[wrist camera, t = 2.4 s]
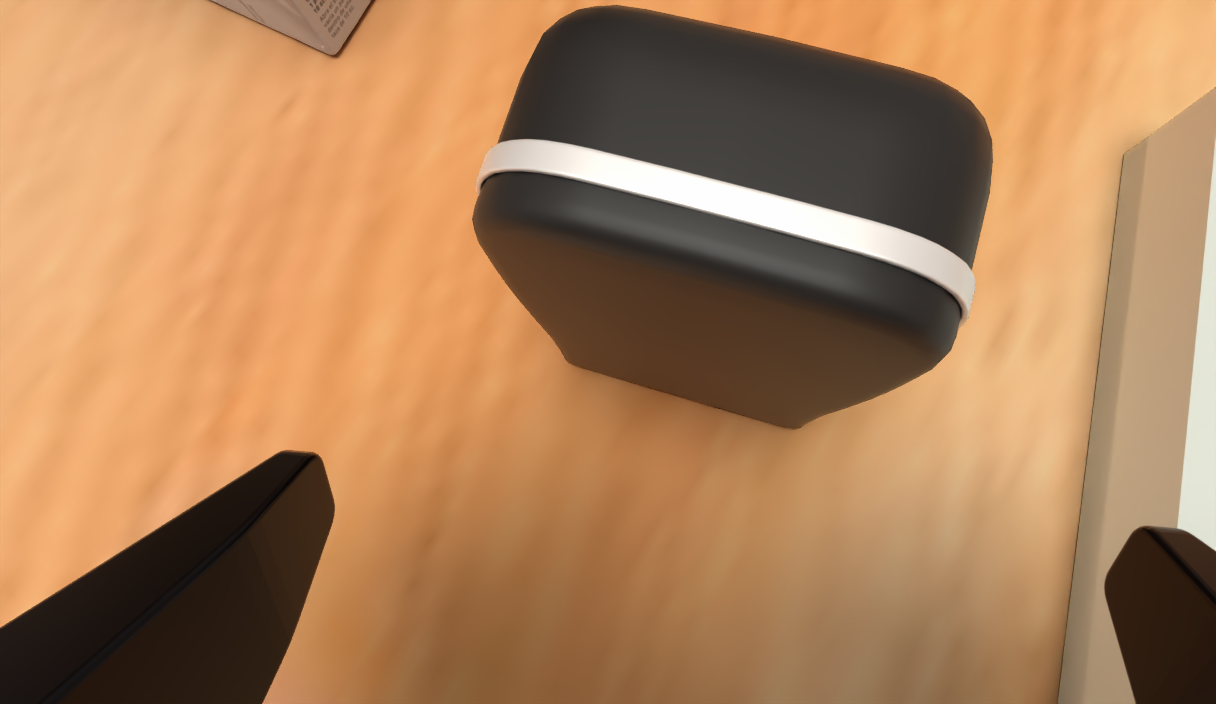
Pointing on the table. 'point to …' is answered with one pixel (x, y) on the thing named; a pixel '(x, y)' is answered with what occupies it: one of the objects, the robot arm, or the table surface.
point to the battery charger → (735, 212)
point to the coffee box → (305, 18)
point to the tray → (1149, 385)
